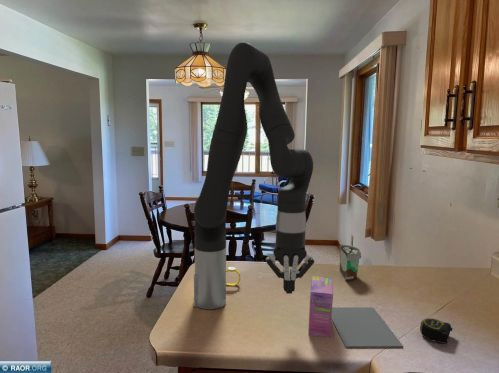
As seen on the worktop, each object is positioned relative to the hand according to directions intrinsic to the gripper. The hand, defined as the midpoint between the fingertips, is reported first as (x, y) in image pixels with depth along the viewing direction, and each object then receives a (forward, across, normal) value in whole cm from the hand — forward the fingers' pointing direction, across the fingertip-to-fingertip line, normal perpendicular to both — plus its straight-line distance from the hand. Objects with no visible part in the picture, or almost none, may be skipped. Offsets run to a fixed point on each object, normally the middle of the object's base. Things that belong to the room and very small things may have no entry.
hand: (288, 292), depth 98 cm
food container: (+10, +28, +35) cm, 46 cm away
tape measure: (+10, +37, -6) cm, 39 cm away
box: (+10, +8, 0) cm, 13 cm away
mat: (+10, +20, 0) cm, 22 cm away
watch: (+10, -16, +27) cm, 33 cm away
